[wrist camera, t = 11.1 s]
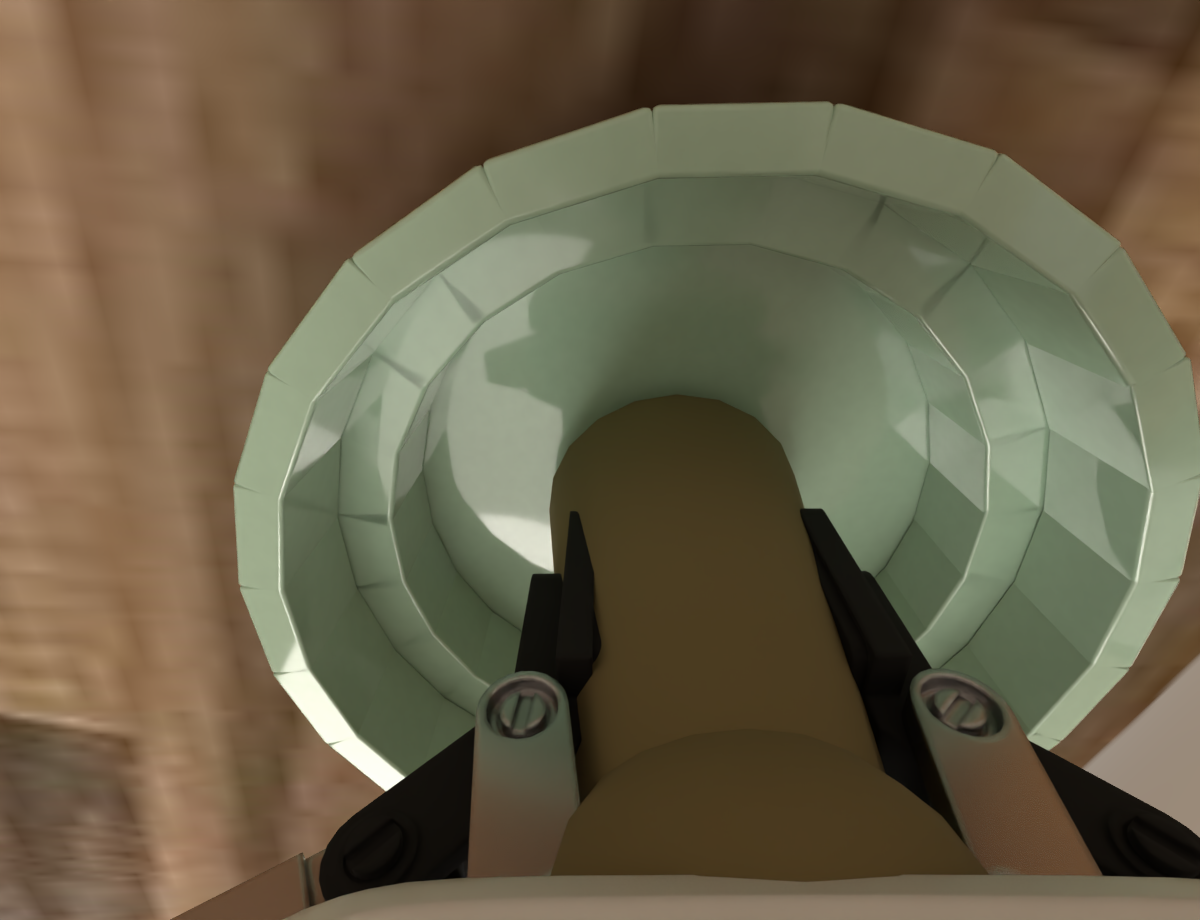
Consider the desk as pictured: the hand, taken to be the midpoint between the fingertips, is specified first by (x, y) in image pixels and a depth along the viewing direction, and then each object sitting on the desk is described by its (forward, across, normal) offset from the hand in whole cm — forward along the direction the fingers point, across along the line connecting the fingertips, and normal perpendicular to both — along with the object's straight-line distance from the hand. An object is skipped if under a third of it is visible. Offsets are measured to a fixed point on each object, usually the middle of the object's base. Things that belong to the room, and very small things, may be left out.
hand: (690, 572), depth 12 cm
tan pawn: (+3, 0, 0) cm, 3 cm away
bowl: (+4, 0, 0) cm, 4 cm away
